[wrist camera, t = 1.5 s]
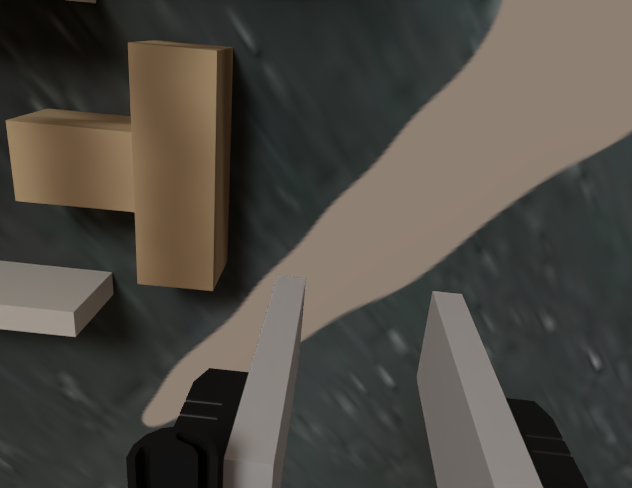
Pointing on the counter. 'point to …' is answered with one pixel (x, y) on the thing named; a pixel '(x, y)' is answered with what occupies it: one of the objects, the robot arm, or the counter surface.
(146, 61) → the tee
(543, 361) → the counter surface
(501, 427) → the robot arm
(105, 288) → the bay
